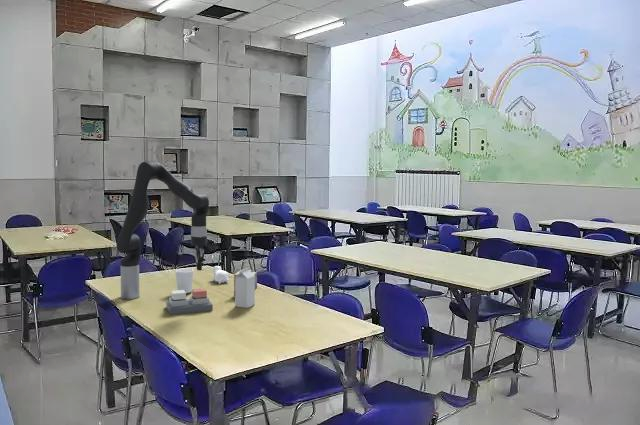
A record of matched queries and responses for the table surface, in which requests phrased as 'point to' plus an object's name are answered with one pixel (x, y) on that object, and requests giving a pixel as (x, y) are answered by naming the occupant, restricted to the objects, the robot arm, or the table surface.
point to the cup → (184, 279)
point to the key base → (188, 305)
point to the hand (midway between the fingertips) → (199, 270)
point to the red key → (199, 293)
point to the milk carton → (245, 289)
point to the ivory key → (178, 294)
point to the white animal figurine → (220, 275)
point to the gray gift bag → (254, 275)
